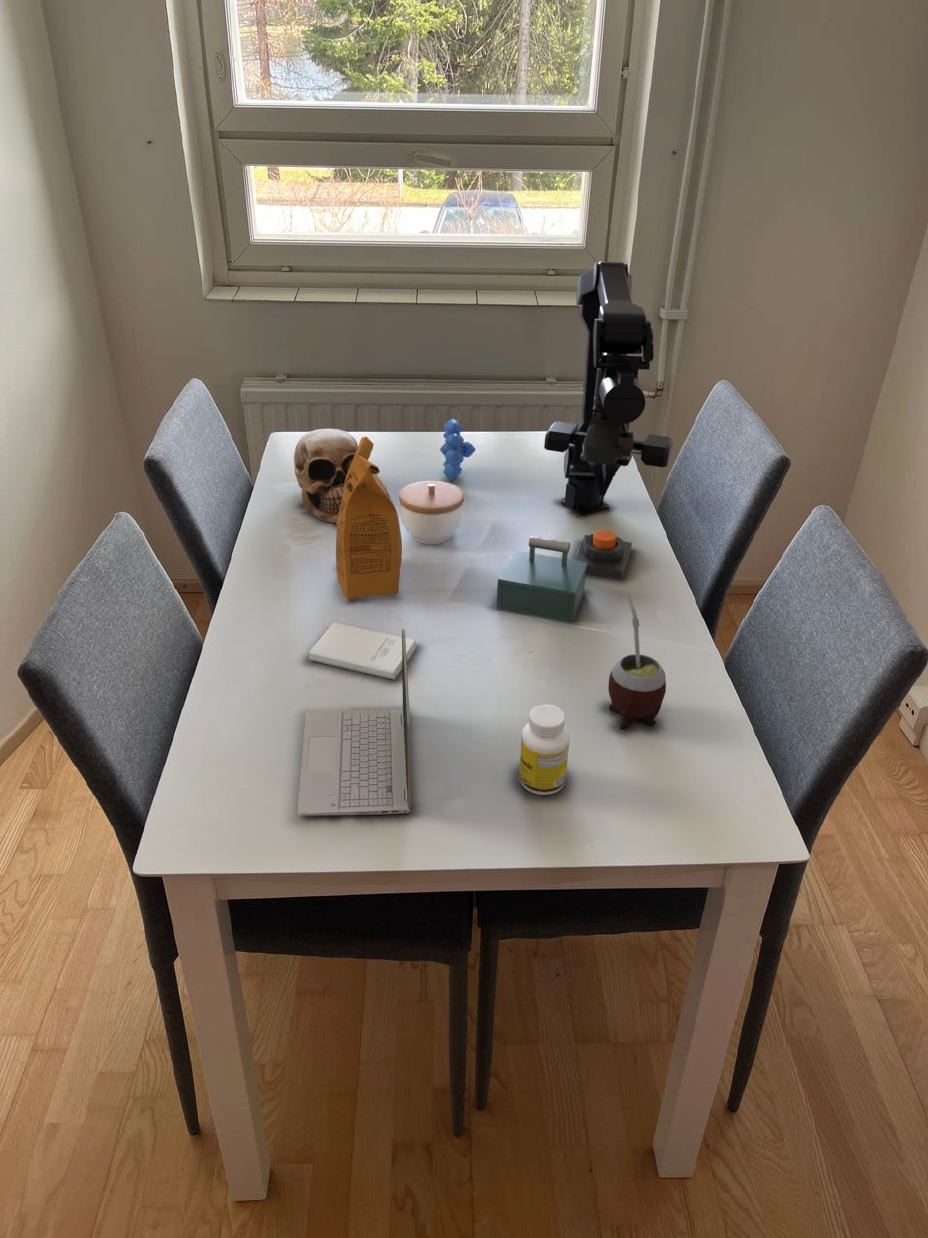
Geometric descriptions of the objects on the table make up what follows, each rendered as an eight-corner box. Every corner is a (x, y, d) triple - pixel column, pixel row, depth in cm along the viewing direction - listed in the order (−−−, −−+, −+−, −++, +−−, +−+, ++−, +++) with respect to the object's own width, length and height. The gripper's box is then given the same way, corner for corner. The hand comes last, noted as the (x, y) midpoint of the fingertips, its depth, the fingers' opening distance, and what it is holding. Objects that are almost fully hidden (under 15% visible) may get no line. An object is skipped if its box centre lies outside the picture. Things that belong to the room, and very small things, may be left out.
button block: (583, 543, 158) (585, 525, 156) (630, 551, 156) (633, 532, 155) (571, 571, 150) (573, 552, 148) (621, 580, 148) (623, 561, 146)
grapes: (476, 492, 174) (479, 430, 167) (440, 492, 173) (441, 430, 167) (472, 466, 184) (474, 407, 177) (438, 466, 183) (438, 407, 177)
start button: (594, 537, 154) (596, 528, 153) (616, 541, 153) (618, 532, 152) (590, 548, 151) (591, 538, 150) (613, 551, 150) (614, 542, 149)
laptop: (306, 715, 118) (299, 629, 111) (406, 712, 119) (405, 627, 112) (297, 819, 103) (288, 727, 96) (411, 814, 104) (411, 723, 97)
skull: (347, 528, 160) (339, 452, 154) (270, 512, 168) (259, 440, 162) (400, 498, 172) (394, 426, 165) (325, 484, 180) (317, 416, 174)
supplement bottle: (515, 765, 112) (520, 700, 106) (560, 764, 112) (567, 699, 107) (521, 798, 107) (527, 731, 102) (568, 796, 108) (576, 730, 102)
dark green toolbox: (511, 580, 148) (512, 556, 145) (583, 593, 145) (586, 569, 143) (496, 608, 141) (497, 583, 138) (572, 622, 138) (575, 597, 136)
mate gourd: (646, 741, 116) (664, 641, 108) (588, 719, 119) (601, 620, 111) (669, 710, 121) (687, 612, 113) (613, 689, 125) (627, 592, 116)
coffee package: (399, 560, 152) (397, 431, 140) (404, 601, 142) (402, 465, 130) (337, 562, 151) (330, 432, 139) (337, 603, 141) (329, 467, 128)
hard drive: (335, 630, 135) (416, 648, 131) (309, 661, 128) (393, 681, 125) (334, 620, 134) (416, 638, 131) (308, 652, 127) (393, 671, 124)
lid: (513, 553, 146) (515, 527, 143) (587, 566, 143) (590, 540, 141) (497, 583, 138) (499, 556, 136) (575, 597, 136) (578, 570, 133)
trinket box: (465, 523, 163) (467, 473, 158) (459, 553, 154) (460, 501, 149) (404, 519, 164) (404, 469, 159) (394, 548, 155) (393, 496, 150)
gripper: (538, 408, 135) (531, 506, 143) (669, 426, 130) (654, 527, 138) (556, 383, 143) (549, 478, 152) (680, 400, 139) (665, 496, 147)
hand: (602, 494), depth 147 cm, fingers closed
